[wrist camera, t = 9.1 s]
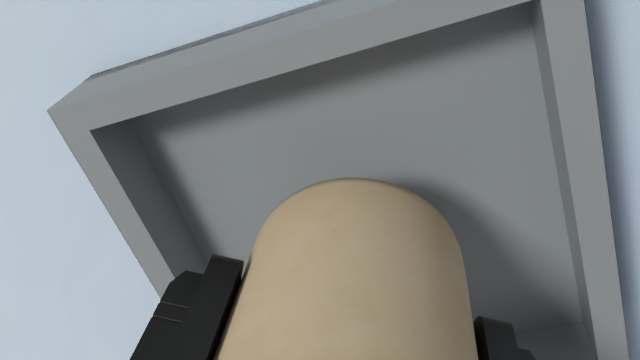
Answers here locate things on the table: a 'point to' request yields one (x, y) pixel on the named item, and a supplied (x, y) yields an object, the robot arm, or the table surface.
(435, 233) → the candle
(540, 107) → the tray
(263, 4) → the table surface
